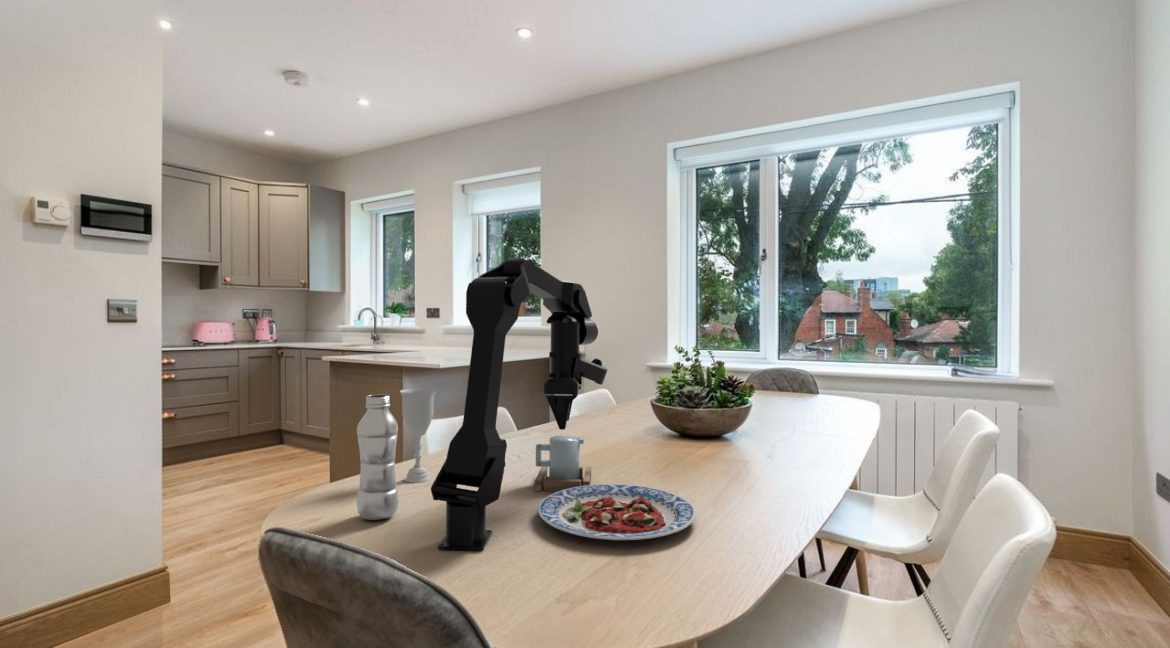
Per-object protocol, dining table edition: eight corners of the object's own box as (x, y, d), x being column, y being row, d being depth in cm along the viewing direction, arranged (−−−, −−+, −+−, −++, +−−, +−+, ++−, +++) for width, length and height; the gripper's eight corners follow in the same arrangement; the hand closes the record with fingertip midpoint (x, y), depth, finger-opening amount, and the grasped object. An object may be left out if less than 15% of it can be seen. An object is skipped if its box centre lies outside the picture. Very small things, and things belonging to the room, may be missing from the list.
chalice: (392, 482, 112) (392, 392, 112) (412, 473, 118) (412, 388, 118) (424, 485, 110) (424, 393, 109) (442, 476, 116) (443, 389, 116)
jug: (582, 488, 108) (583, 442, 108) (533, 487, 109) (534, 441, 109) (584, 479, 114) (584, 435, 114) (537, 478, 115) (538, 435, 115)
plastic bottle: (371, 528, 87) (372, 400, 87) (348, 518, 91) (348, 396, 91) (407, 516, 92) (407, 395, 92) (383, 508, 97) (383, 392, 96)
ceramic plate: (701, 503, 101) (701, 486, 101) (688, 563, 76) (688, 541, 76) (565, 490, 108) (565, 474, 108) (513, 541, 83) (513, 521, 83)
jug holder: (589, 492, 106) (589, 481, 106) (534, 490, 107) (534, 480, 107) (591, 476, 117) (591, 467, 117) (541, 475, 117) (541, 466, 117)
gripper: (605, 349, 102) (604, 435, 102) (605, 344, 120) (605, 417, 120) (544, 348, 102) (543, 434, 102) (554, 344, 121) (553, 416, 121)
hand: (564, 424), depth 111 cm, fingers open, 9 cm apart
